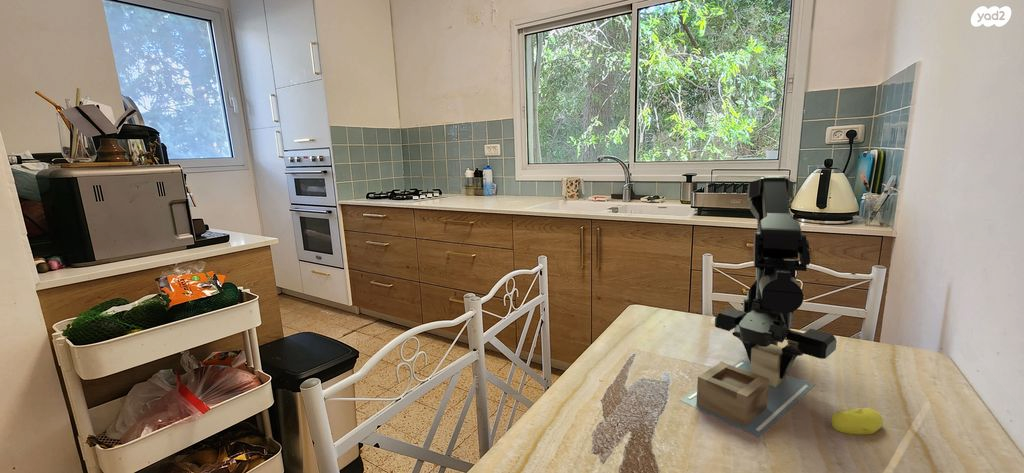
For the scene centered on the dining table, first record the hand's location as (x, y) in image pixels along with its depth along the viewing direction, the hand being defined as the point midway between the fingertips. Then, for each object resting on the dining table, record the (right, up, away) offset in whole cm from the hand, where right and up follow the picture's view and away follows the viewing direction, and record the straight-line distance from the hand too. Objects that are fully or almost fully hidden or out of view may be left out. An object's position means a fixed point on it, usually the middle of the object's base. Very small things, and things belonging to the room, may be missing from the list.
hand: (767, 373), depth 80 cm
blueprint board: (-6, -3, -4) cm, 8 cm away
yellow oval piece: (+5, -5, -14) cm, 16 cm away
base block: (-11, -3, -8) cm, 14 cm away
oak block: (0, -1, 0) cm, 1 cm away
